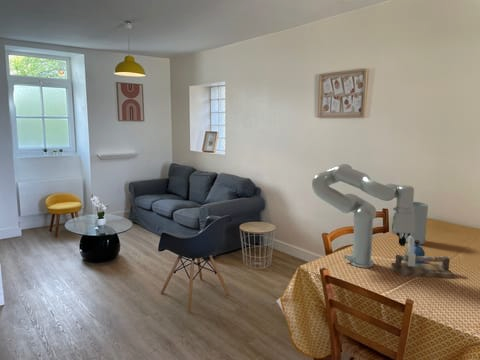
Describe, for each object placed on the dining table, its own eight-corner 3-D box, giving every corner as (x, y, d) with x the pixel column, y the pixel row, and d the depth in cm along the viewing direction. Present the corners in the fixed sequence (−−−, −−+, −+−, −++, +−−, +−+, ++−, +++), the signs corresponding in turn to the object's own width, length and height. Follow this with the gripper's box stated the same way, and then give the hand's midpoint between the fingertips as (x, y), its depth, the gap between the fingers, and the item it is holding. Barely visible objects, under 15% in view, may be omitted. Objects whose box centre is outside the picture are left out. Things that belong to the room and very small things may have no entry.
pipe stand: (398, 275, 178) (399, 259, 177) (391, 266, 190) (392, 251, 189) (453, 277, 175) (455, 261, 174) (442, 268, 187) (443, 253, 186)
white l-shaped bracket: (408, 266, 180) (410, 239, 178) (404, 261, 186) (406, 235, 184) (414, 266, 180) (416, 239, 177) (410, 261, 185) (412, 235, 183)
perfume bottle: (414, 264, 192) (416, 243, 191) (406, 260, 198) (407, 239, 196) (423, 263, 194) (425, 242, 192) (415, 259, 200) (417, 238, 198)
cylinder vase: (428, 245, 223) (431, 206, 219) (408, 244, 223) (411, 206, 219) (419, 238, 235) (422, 201, 231) (400, 238, 236) (402, 201, 232)
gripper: (391, 211, 176) (389, 247, 179) (422, 212, 174) (420, 248, 177) (386, 208, 183) (384, 242, 186) (417, 208, 182) (414, 243, 184)
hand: (401, 245), depth 182 cm, fingers closed
